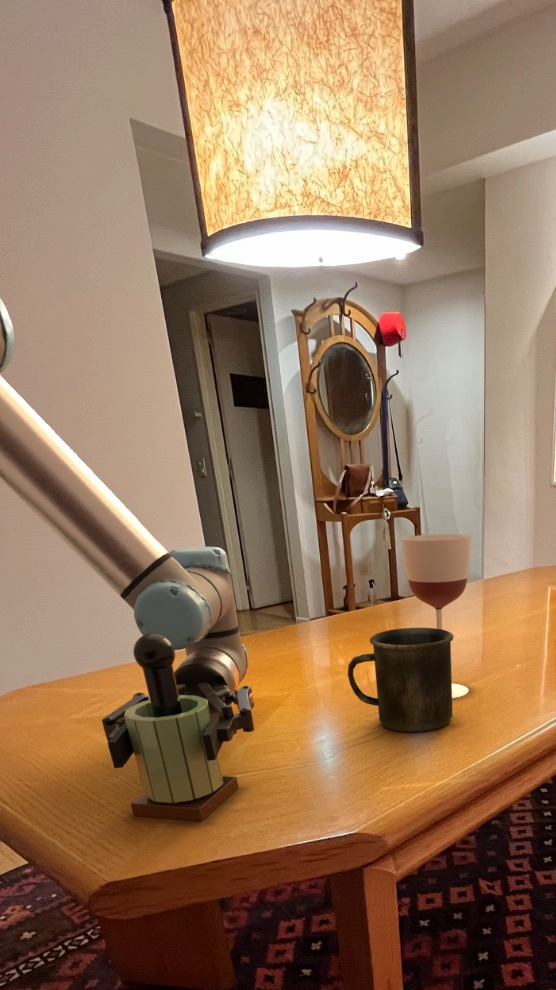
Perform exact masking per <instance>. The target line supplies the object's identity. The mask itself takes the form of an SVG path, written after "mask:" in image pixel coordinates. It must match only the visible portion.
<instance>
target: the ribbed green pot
mask: <svg viewBox="0 0 556 990" xmlns="http://www.w3.org/2000/svg"><path fill="white" fill-rule="evenodd" d="M179 698H180V702H181V707H182V712H183V713H181V714H177V715H173V716H165V717H157V718H155V717H154V715H153V711H152V706H151V702H150V700H147V701H143V702H140V703H138V704H136V705H134V706H132V707H130V708H128V709H127V710H126V711H125V714H124V717H125V721H126V725H127V728H128V732H129V736H130V740H131V744H132V748H133V751H134V753H133V756H134V759H135V763H136V766H137V767H136V768H137V770H138V774H139V778H140V782H141V786H142V789H143V794H145V796H146V797H148V798H149V799H151V800H153V801H156V802H165V803H172V802H174V803H177V802H183V801H190V800H193V798H195V799H198V798H200V797H203V796H205V795H208V794H211V793H212V792H214V791H216V790H217V789H218V788H219V787H220V786H221V785H222V784H223V776H224V775H223V770H222V765H221V760H220V756H219V754H218V755H217V757H216V760H210V761H207V756H206V751H205V746H204V741H203V737H202V735H203V733H204V731H205V729H206V727H207V726H208V724H209V722H210V720H211V715H210V710H209V705H208V700H206V699H204V698H201V697H199V696H190V695H180V696H179Z"/></svg>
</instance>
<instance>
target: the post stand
mask: <svg viewBox="0 0 556 990" xmlns="http://www.w3.org/2000/svg"><path fill="white" fill-rule="evenodd" d="M132 651H133V657H134V660H135V661H136V663H137V665H138V666H139V667H140V668H142V672H143V677H144V681H145V685H146V689H147V693H148V697H149V698H150V702H151V706H152V711H153V715H154V717H155V718H157V717H165V716H173V715H177V714H181V713H183V712H182V707H181V702H180V698H179V693H178V688H177V684H176V679H175V674H174V672H175V671H174V666H173V664H174V662H175V660H176V650H175V649H174V647H173V645H172V643H171V642H170V641H169V640H168V639H167V638H166V637H164V636H162V635H160V634H155V633H150V634H146V635H141V636H140V637H138V639H137V640H136V641H135V643H134V645H133V650H132ZM238 790H239V784H238V778H237V776H228V775H227V776H226V775H223V784H222V785H221V786H220V787H219V788H218V789H217V790H216V791H214V792H212V793H211V794H208V795H205V796H203V797H200V798H198V799H195V798H193V800H190V801H183V802H177V803H174V802H172V803H165V802H156V801H153V800H151V799H149V798H148V797H146V796H145V794H144V793H143V794H141V795H140V796H139V797H137V798H136V799H135V800H133V801H132V802H130V807H131V811H132V814H133V816H134V817H145V818H154V819H155V818H156V819H167V820H179V821H180V820H181V821H192V822H203V821H204V820H205V819H206V818H208V816H209V815H210V814H212V813H214V811H215V810H216V809H217V808H218V807H219V806H221V805H222V804H223V803H225V802H226V800H228V799H229V798H230V797H231V796H232V795H233V794H234V793H236V791H238Z"/></svg>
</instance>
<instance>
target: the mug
mask: <svg viewBox="0 0 556 990" xmlns="http://www.w3.org/2000/svg"><path fill="white" fill-rule="evenodd" d="M454 638H455V636H454V634H453V632H451V631H448V630H445V629H443V628H442V629H437V627H436V628H435V627H404V628H394V629H388V630H384V631H380V632H377V633H375V634H373V635H372V636H371V637H370V638H369V643H370V644H371V645H372V646H373V653H363V654H359V655H356V656H354V657H353V658H352V659H351V661H349V663H348V667H347V678H348V682H349V685H350V687H351V689H352V691H353V693H354V695H355V696H356V697H357V698H358V699H359V701H360V702H363V703H364V704H366V705H370V706H377V709H378V719H379V722H380V723H381V724H382V725H383V726H384V727H385V728H386V729H390V730H392V731H397V732H409V733H410V732H413V733H415V732H425V731H431V730H436V729H440V728H442V727H444V726H446V725H447V724H449V723H450V721H451V719H452V718H453V713H454V712H453V698H452V683H453V680H452V678H453V677H452V646H451V645H452V644H451V642H452V641H453V640H454ZM365 662H374V668H375V670H374V671H375V683H376V694H377V695H376V696H377V697H372V696H369V695H366V693H364V692H363V691H362V690H361V688H360V687H359V686H358V684H357V682H356V680H355V676H354V670H355V668H356V667H357V665H359V664H362V663H365Z"/></svg>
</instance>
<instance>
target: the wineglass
mask: <svg viewBox="0 0 556 990" xmlns="http://www.w3.org/2000/svg"><path fill="white" fill-rule="evenodd" d="M401 544H402V554H403V561H404V567H405V573H406V576H407V581H408V584H409V587H410V591H411V593H412V594H413V595H414V596H415V597H416V599H418V600H420V601H421V602H423V603H425V604H427V605H428V606H430V607H432V608H434V609H435V620H436V629H442V630H443V608H445V607H446V606H448V605H449V604H451V603H453V602H455V601H456V600H457V599H459V598H460V597H461V596H462V594H463V593H464V592H465V590H466V588H467V582H468V576H469V572H470V571H469V570H470V565H471V564H470V563H471V553H472V552H471V551H472V536H471V535H469V534H453V533H452V534H451V533H450V534H449V533H448V534H446V533H445V534H444V533H443V534H441V533H439V534H421V535H410V536H405V537H401ZM467 693H469V688H468V687H467V686H465V685H462V684H458V683H453V682H452V699H456V698H460V697H463V696H465V695H466V694H467Z"/></svg>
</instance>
